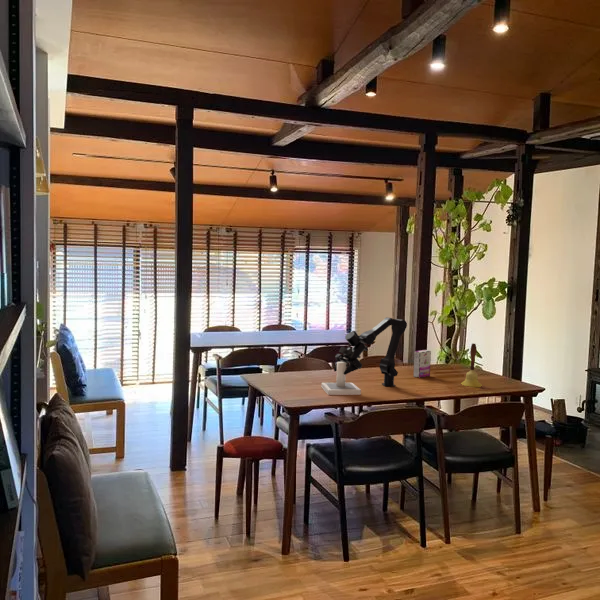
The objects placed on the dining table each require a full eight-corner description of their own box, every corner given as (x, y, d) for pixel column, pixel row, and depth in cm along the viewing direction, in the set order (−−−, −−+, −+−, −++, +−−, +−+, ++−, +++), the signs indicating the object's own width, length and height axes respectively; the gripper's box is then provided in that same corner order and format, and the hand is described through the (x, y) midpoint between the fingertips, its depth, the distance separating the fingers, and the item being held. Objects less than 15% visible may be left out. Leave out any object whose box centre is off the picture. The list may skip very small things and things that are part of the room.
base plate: (360, 394, 301) (360, 389, 301) (327, 394, 298) (328, 389, 298) (352, 386, 319) (352, 382, 319) (321, 387, 316) (321, 382, 316)
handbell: (479, 388, 328) (481, 346, 326) (458, 385, 334) (460, 343, 333) (484, 384, 338) (486, 343, 337) (463, 381, 345) (466, 341, 343)
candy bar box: (423, 374, 362) (425, 349, 361) (430, 376, 358) (431, 350, 357) (412, 376, 355) (414, 350, 354) (419, 378, 351) (420, 352, 350)
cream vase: (347, 386, 308) (348, 362, 307) (340, 387, 305) (341, 363, 304) (340, 384, 312) (341, 361, 311) (334, 385, 309) (335, 362, 308)
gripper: (338, 339, 317) (321, 360, 312) (358, 344, 301) (341, 366, 296) (349, 352, 321) (332, 372, 316) (369, 357, 306) (352, 379, 301)
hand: (339, 372), depth 307 cm, fingers open, 9 cm apart
